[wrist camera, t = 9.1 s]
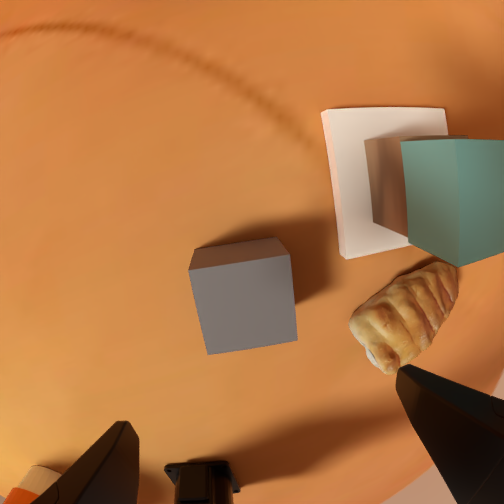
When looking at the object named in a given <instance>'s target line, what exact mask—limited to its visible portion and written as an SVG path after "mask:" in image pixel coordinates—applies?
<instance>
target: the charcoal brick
mask: <svg viewBox="0 0 504 504" xmlns="http://www.w3.org/2000/svg"><path fill="white" fill-rule="evenodd" d="M188 271H189V276H190V281H191V285H192V290H193V294H194V299H195V303H196V308H197V312H198V316H199V321H200V325H201V329H202V333H203V337H204V341H205V345H206V349H207V353H208V355H211V354H218V353H226V352H233V351H239V350H246V349H252V348H258V347H264V346H270V345H275V344H281V343H286V342H292V341H297V340H298V338H297V326H296V314H295V302H294V291H293V280H292V270H291V260H290V254H289V252H288V251H287V250H286V248H285V247H284V246H283V244H282V243H281V242H280V241H279V239H278V238H277V237H270V238H264V239H257V240H251V241H244V242H238V243H231V244H225V245H219V246H212V247H206V248H200V249H195V250H194V253H193V257H192V260H191V263H190V266H189V270H188Z"/></svg>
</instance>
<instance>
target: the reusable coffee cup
mask: <svg viewBox="0 0 504 504" xmlns="http://www.w3.org/2000/svg"><path fill="white" fill-rule="evenodd" d="M61 475H62V474H60V473H58V472H55V471H53V470H51V469H48V468H45V467H42V466H32V467H31V468H30V469H29V471H28V472H27V474H26V475H25V477H24V478H23V480H22V481H21V483H20V484H19V486H18V487H17V488H13V489H12V490H11V492H10V493H9V495H8V496H7V498H6V499H5V501H4V503H3V504H29V503H31V502H32V501H33V500H35V499H36V498H37V497H38V496H40V495H41V494H42V493H43V492H44V491H45V490H46V489H48V488H49V487H50V486H51V485H52V484H53V483H54V482H55V481H57V479H58V478H59V477H60V476H61Z"/></svg>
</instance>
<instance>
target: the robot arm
mask: <svg viewBox="0 0 504 504" xmlns="http://www.w3.org/2000/svg"><path fill="white" fill-rule="evenodd" d="M396 391H397V393H398V396H399V398H400V400H401V402H402V404H403V406H404V409H405V411H406V413H407V415H408V418H409V420H410V422H411V424H412V426H413V428H414V429H415V431H416V433H417V434H418V436H419V438H420V440H421V441H422V443H423V445H424V446H425V448H426V450H427V451H428V453H429V455H430V456H431V458H432V460H433V462H434V463H435V465H436V467H437V468H438V470H439V472H440V474H441V475H442V477H443V479H444V481H445V482H446V484H447V486H448V488H449V490H450V491H451V493H452V495H453V497H454V499H455V500H456V502H457V504H504V400H502V399H499V398H496V397H494V396H491V397H490V395H488V394H485V393H483V392H480V391H477V390H475V389H472V388H469V387H467V386H464V385H461V384H459V383H456V382H454V381H451V380H448V379H446V378H443V377H441V376H438V375H436V374H433V373H431V372H428V371H426V370H423V369H421V368H418V367H416V366H413V365H411V364H407V365H404V366H402V367H400V368H398V371H397V378H396ZM164 471H165V472H166V474H167V475H168V476H169V478H170V479H171V481H172V482H173V483H174V485H175V498H174V504H234V503H233V493H239V492H240V486H239V484H238V482H237V480H236V478H235V476H234V473H233V471H232V469H231V467H230V465H229V463H228V462H226V461H220V462H211V463H200V464H185V465H167V466H165V468H164ZM138 486H139V437H138V435H137V434H136V432H135V430H134V429H133V427H132V425H131V424H130V422H128V421H117V422H115V423H114V424H113V425H112V426H111V427H110V428H109V429H108V430H107V431H106V432H105V433H104V434H103V435H102V436H101V437H100V438H99V439H98V440H97V441H96V442H95V443H94V444H93V445H92V446H91V447H90V448H89V449H88V450H87V451H86V452H85V453H84V454H83V455H82V456H81V457H80V458H79V459H78V460H77V461H76V462H75V463H74V464H73V465H72V466H71V467H70V468H69V469H68V470H66V471H65V472H64V473H63V474H62V475H61V476H60V477H59V478H58V479H57V481H55V482H54V483H53V484H52V485H51V486H50V487H49V488H48V489H46V490H45V491H44V492H43V493H42V494H41V495H40V496H38V497H37V498H36V499H35V500H33V501H32V502H31V503H29V504H137V495H138Z"/></svg>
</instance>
